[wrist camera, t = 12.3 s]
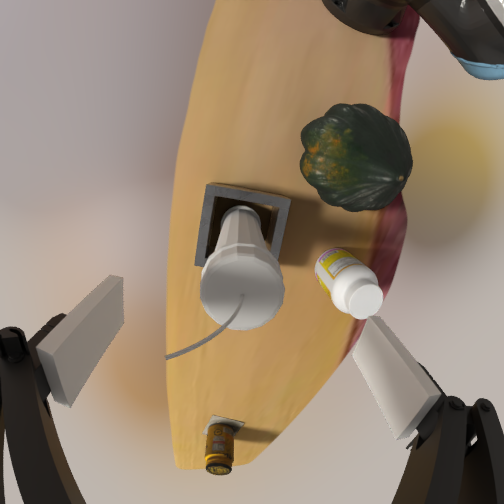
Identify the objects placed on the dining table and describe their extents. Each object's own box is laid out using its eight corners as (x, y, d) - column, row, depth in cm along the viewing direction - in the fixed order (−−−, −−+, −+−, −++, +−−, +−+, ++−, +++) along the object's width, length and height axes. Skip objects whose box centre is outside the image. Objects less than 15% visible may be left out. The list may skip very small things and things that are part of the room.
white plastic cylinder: (261, 239, 40) (308, 390, 12) (219, 243, 40) (179, 401, 12) (257, 201, 39) (308, 287, 10) (214, 206, 39) (146, 303, 10)
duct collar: (283, 195, 39) (291, 199, 33) (269, 263, 42) (273, 278, 36) (211, 182, 38) (206, 184, 32) (200, 252, 41) (194, 265, 35)
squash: (302, 77, 29) (335, 142, 21) (400, 99, 30) (454, 168, 22) (286, 159, 41) (300, 237, 33) (370, 167, 42) (400, 240, 34)
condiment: (202, 433, 53) (198, 473, 42) (212, 414, 51) (209, 458, 40) (231, 439, 54) (231, 479, 43) (244, 421, 52) (245, 464, 41)
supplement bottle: (344, 289, 43) (377, 329, 31) (308, 282, 43) (332, 323, 30) (358, 251, 42) (397, 281, 29) (321, 242, 41) (352, 271, 29)
